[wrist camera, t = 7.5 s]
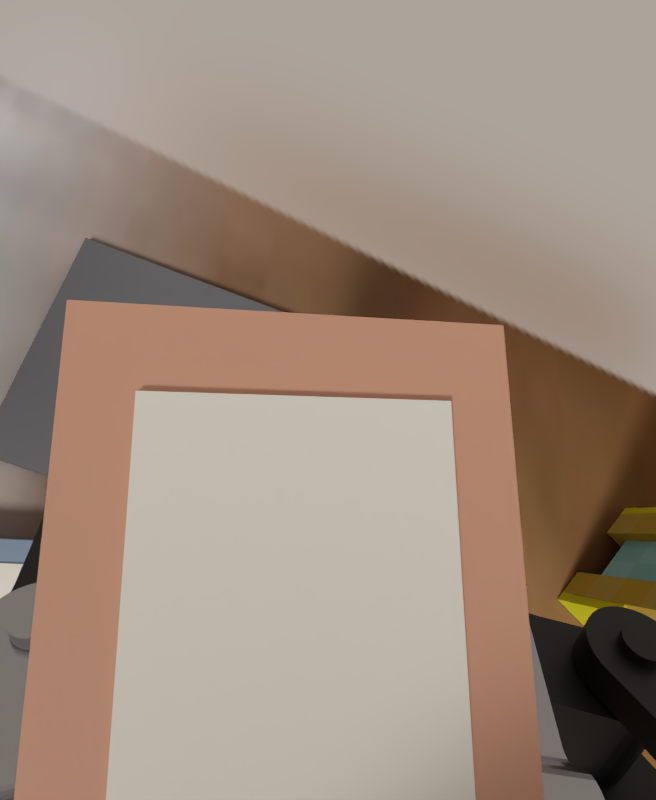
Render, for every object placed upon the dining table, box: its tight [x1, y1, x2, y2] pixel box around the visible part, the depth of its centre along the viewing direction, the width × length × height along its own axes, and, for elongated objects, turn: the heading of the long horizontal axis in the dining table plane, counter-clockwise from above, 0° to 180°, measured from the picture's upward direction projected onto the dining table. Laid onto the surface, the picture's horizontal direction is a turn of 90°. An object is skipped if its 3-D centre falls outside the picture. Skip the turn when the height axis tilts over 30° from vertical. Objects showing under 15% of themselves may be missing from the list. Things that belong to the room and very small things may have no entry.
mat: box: [0, 238, 282, 476], centre depth 28 cm, size 12×12×1 cm
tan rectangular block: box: [14, 300, 545, 800], centre depth 10 cm, size 4×5×12 cm
